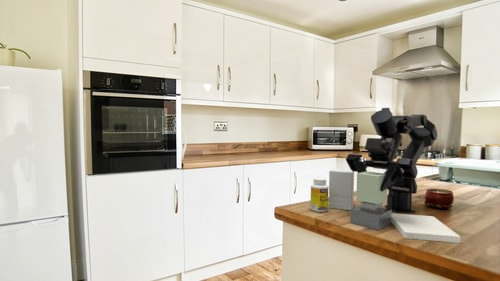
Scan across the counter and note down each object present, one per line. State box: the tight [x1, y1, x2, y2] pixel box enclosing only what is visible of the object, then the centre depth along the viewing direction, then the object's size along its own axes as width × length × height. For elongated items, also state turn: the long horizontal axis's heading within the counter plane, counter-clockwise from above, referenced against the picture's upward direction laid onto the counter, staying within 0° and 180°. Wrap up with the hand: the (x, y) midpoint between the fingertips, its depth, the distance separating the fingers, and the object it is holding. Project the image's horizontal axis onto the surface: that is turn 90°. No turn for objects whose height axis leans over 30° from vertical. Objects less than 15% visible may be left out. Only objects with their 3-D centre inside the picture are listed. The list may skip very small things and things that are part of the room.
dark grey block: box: [350, 201, 393, 231], centre depth 81 cm, size 8×8×6 cm
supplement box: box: [328, 167, 355, 211], centre depth 98 cm, size 7×7×13 cm
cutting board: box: [391, 212, 461, 244], centre depth 77 cm, size 16×12×2 cm
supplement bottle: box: [310, 177, 329, 213], centre depth 94 cm, size 6×6×10 cm
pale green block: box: [355, 170, 388, 204], centre depth 81 cm, size 6×6×8 cm
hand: (369, 188), depth 80 cm, fingers closed on pale green block, 6 cm apart
